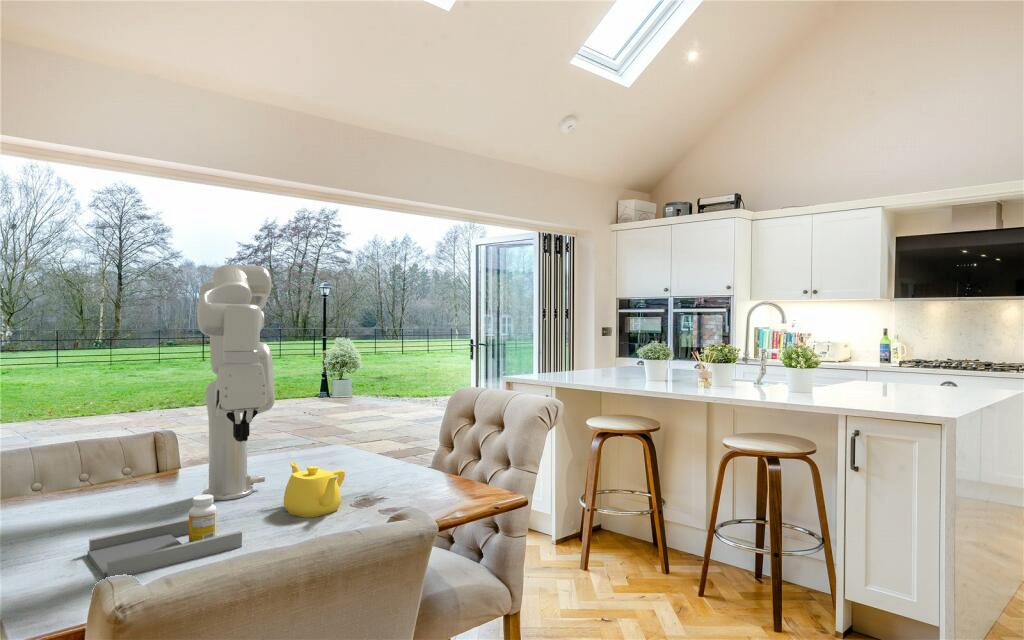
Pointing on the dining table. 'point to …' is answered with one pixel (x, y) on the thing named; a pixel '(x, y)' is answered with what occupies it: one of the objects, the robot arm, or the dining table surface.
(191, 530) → the supplement bottle
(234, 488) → the robot arm
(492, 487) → the dining table surface
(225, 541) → the grey channel
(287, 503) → the teapot
